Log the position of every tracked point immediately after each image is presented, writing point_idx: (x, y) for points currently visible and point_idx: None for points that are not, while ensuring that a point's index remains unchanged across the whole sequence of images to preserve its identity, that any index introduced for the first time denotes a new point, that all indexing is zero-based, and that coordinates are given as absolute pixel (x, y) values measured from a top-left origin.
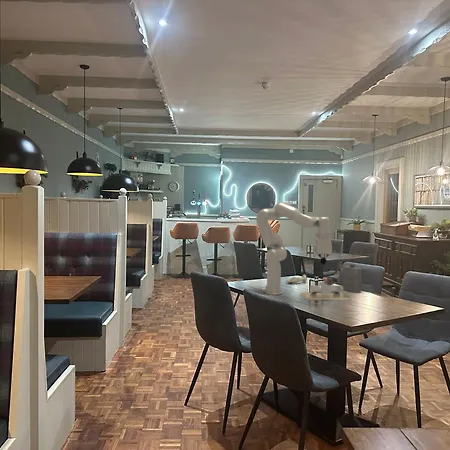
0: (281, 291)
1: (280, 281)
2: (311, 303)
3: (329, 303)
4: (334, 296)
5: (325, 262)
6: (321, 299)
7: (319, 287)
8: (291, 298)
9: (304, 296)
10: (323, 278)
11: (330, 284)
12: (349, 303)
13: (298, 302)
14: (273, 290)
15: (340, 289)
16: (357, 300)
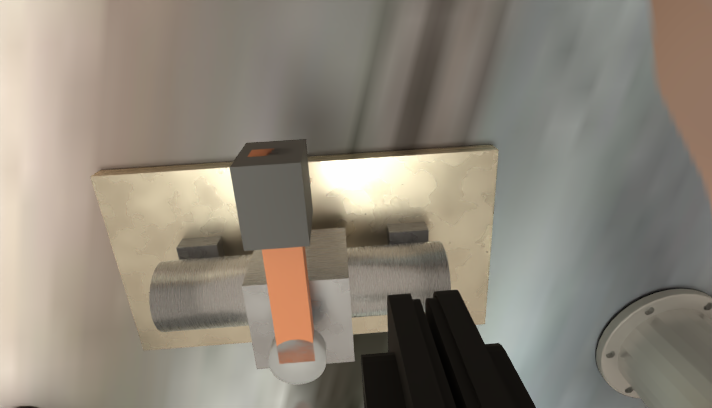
0: (606, 357)
1: (681, 406)
2: (484, 6)
3: (316, 18)
4: (234, 215)
5: (370, 356)
6: (359, 153)
7: (367, 269)
8: (591, 188)
9: (493, 200)
10: (323, 350)
11: (277, 144)
12: (124, 31)
13: (588, 41)
14: (701, 320)
15: (159, 268)
16: (41, 160)
